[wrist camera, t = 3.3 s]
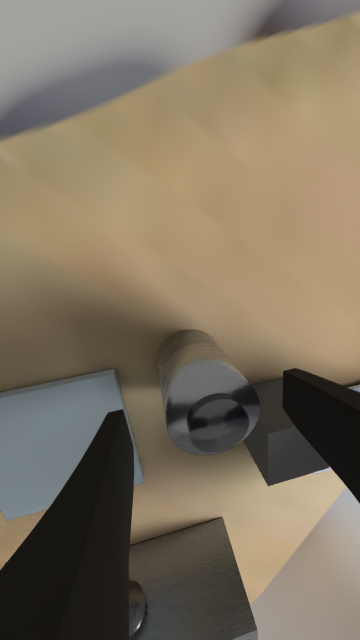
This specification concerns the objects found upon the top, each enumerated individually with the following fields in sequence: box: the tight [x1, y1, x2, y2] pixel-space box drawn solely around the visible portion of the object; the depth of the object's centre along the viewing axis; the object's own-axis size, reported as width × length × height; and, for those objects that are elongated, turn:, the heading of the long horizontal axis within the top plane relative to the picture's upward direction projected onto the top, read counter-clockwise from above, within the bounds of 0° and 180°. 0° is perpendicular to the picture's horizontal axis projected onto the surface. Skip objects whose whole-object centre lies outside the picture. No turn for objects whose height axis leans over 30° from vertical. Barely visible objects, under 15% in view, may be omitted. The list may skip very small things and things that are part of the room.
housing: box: [129, 517, 258, 640], centre depth 17 cm, size 12×13×7 cm
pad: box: [0, 369, 144, 521], centre depth 14 cm, size 9×9×1 cm
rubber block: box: [243, 378, 329, 486], centre depth 14 cm, size 4×4×4 cm
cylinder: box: [157, 330, 260, 455], centre depth 11 cm, size 4×4×6 cm
